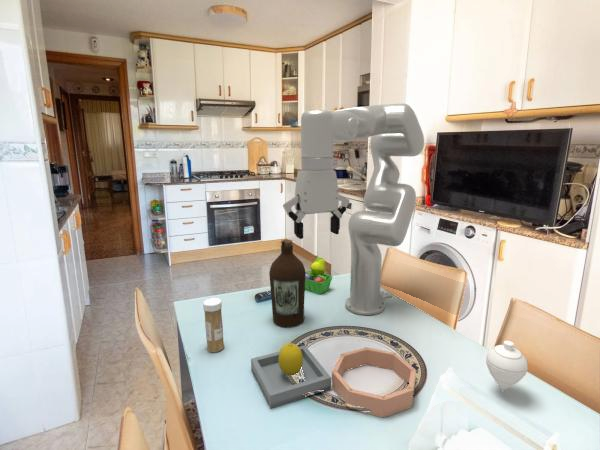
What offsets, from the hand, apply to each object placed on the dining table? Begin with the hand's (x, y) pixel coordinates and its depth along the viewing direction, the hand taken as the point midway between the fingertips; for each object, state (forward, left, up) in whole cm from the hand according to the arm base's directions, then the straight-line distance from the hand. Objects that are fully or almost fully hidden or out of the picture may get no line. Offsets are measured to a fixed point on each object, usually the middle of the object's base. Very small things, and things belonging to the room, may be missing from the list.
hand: (317, 235), depth 90 cm
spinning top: (-28, +33, -31) cm, 53 cm away
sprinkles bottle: (+25, -10, -31) cm, 41 cm away
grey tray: (+12, +10, -30) cm, 34 cm away
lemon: (+12, +10, -30) cm, 33 cm away
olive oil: (+2, -16, -31) cm, 34 cm away
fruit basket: (-16, -34, -31) cm, 48 cm away
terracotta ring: (-4, +20, -30) cm, 37 cm away
